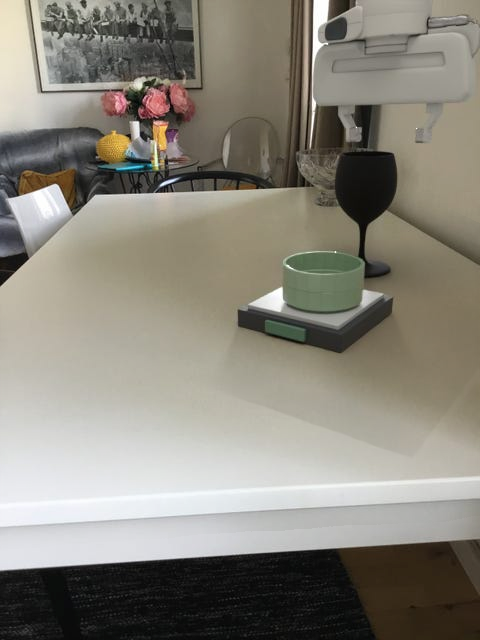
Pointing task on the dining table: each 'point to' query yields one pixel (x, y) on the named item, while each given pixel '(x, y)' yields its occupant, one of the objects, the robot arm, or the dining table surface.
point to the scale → (315, 320)
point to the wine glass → (366, 194)
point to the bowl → (323, 281)
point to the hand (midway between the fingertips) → (387, 142)
